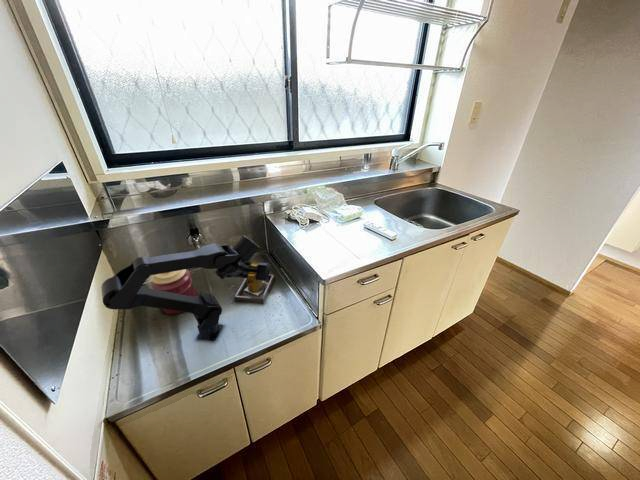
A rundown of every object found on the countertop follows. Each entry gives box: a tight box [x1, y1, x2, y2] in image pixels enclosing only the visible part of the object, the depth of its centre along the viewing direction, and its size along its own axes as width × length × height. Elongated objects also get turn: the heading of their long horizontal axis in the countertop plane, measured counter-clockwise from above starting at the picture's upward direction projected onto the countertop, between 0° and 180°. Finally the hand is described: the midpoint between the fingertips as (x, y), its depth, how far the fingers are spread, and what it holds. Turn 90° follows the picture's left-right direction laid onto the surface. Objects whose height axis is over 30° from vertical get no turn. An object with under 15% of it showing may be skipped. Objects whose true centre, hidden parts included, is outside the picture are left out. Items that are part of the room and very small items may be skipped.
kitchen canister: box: [150, 269, 197, 315], centre depth 97 cm, size 13×13×18 cm
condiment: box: [243, 261, 269, 297], centre depth 106 cm, size 7×8×12 cm
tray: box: [234, 273, 275, 305], centre depth 108 cm, size 16×12×2 cm
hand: (251, 272), depth 101 cm, fingers open, 9 cm apart
